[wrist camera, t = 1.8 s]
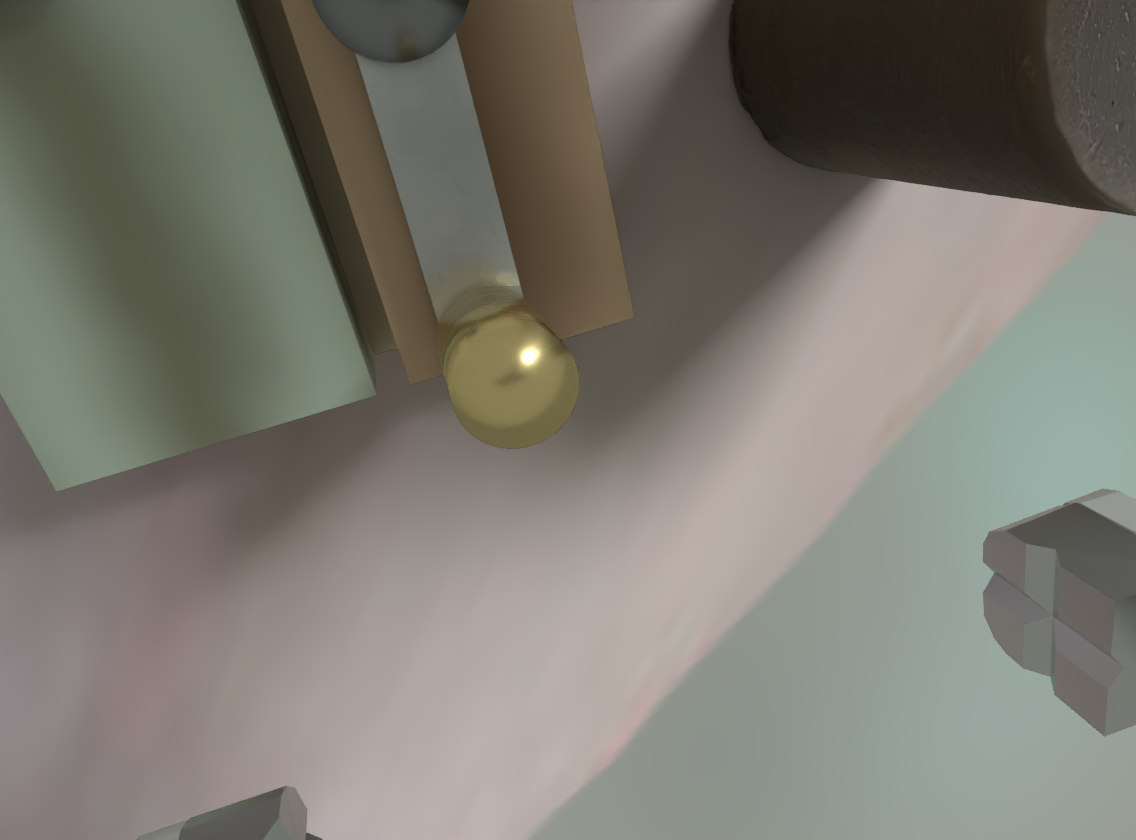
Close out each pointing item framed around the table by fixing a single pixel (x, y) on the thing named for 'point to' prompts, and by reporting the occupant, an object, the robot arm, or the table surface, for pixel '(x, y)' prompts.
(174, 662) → the table surface
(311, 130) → the door board
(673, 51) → the table surface
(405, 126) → the bar
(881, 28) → the pillar candle
